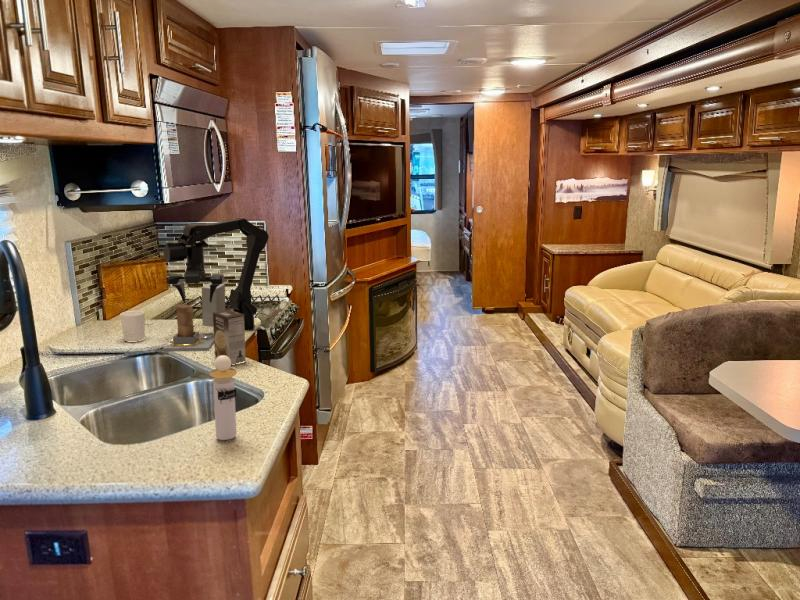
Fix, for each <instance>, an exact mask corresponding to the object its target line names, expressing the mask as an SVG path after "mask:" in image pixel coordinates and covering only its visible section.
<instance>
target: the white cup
mask: <svg viewBox="0 0 800 600" xmlns="http://www.w3.org/2000/svg"><path fill="white" fill-rule="evenodd" d="M119 315H120V322H121V330H122V334H123V341H124V340H125V341H139V340H142V339H144V338H145V335H146V333H145V332H146V322H145V321H146V317H145V311H143V310H129V311H128V310H127V311H123V312H121V313H120V314H119ZM145 339H146V338H145ZM145 339H144V340H145ZM125 341H124V342H125Z"/></svg>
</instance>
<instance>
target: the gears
mask: <svg viewBox="0 0 800 600" xmlns="http://www.w3.org/2000/svg"><path fill="white" fill-rule="evenodd" d="M199 334H200V335H199ZM172 338H173V341H170V340H169V341H170V343H172V344H171V346H172V347H175V346H178V347H181V348H185V347H189V346H194V347H195V346H198V344H199V343H204V341H200V340H202V339H207V340H210V338H214V332H210V333H204V332H202V333H201V332H199V331H194V335H193V337H178V332H177V333H176V334H175V335H173V337H172Z"/></svg>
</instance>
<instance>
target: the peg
mask: <svg viewBox="0 0 800 600" xmlns="http://www.w3.org/2000/svg"><path fill="white" fill-rule="evenodd" d="M193 314H194V312H193V306H192V305H187V304H183V305H179V306H176V320H177V321H176V322H177V323H176V324H177V333H178V337H193V335H194V332H195V331H194V319H193V318H194V316H193Z"/></svg>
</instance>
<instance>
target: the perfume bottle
mask: <svg viewBox="0 0 800 600" xmlns="http://www.w3.org/2000/svg"><path fill="white" fill-rule="evenodd" d="M213 364H214V368H215V369H212V370H210V372H209V376H210V377H211V378H213V381H212V382H213V383H212V384H213V385H212V386H213V387H212V388H213V403H214V404H213V405H214V421H215V422H214V424H215V438H216V439H218V440H221V441H222V440H223V441H224V440H225V441H226V440H231V439H234V438H235V437H236V436H237V419H236V417H237V416H236V397H238V396H237V388H235V379H234V378H233V377H235V376H236V375H237V371H238V370H237V369H235V368H233V367H232V366H231V360H230V358H229V357H228V356H225V355H221V356H218V357H217V358H216V360H215V359H214V363H213Z"/></svg>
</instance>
